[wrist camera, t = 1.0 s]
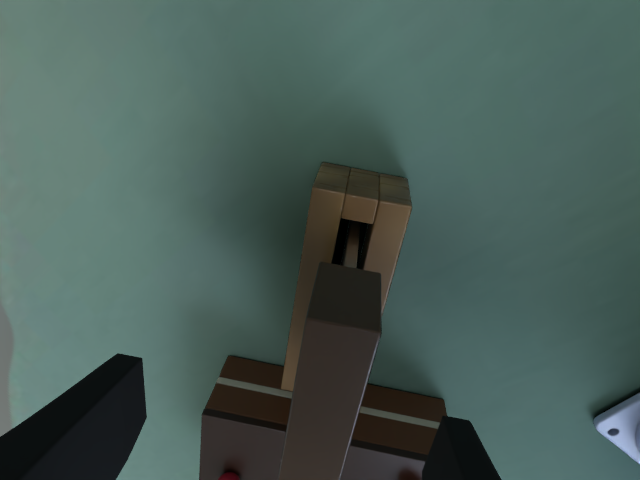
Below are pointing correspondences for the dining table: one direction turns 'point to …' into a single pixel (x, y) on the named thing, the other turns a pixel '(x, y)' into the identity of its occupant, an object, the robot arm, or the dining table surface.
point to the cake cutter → (332, 366)
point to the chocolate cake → (392, 435)
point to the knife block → (322, 228)
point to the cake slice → (244, 422)
